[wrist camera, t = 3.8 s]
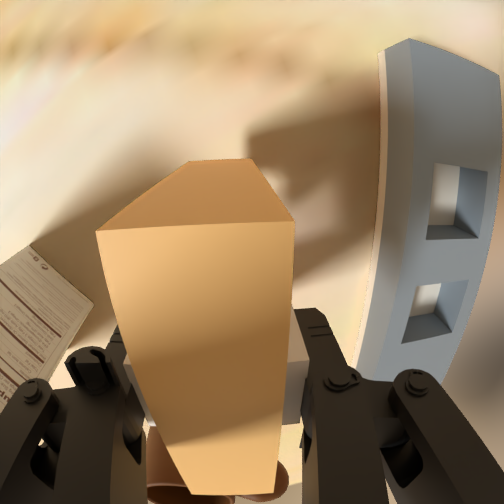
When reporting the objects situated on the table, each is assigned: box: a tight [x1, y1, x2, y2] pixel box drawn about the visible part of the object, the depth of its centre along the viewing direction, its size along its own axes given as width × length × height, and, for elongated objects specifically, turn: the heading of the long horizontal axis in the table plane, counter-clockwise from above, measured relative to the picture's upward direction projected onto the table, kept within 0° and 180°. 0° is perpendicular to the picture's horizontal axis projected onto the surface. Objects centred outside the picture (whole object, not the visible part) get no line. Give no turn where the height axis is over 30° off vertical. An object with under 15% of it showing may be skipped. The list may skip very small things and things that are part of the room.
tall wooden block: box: [95, 159, 295, 495], centre depth 11 cm, size 10×3×10 cm, turn 1°
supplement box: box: [0, 246, 94, 413], centre depth 14 cm, size 7×7×13 cm
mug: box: [146, 426, 289, 504], centre depth 21 cm, size 12×8×9 cm, turn 82°
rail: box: [351, 38, 502, 385], centre depth 18 cm, size 26×8×4 cm, turn 1°
